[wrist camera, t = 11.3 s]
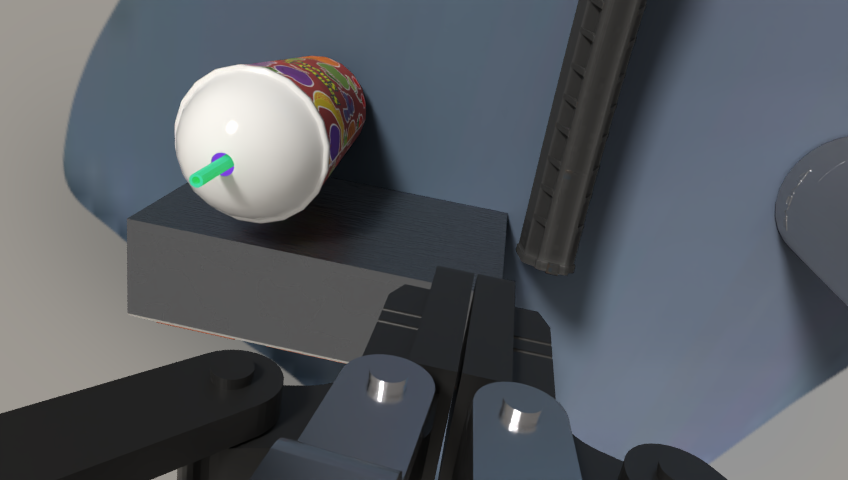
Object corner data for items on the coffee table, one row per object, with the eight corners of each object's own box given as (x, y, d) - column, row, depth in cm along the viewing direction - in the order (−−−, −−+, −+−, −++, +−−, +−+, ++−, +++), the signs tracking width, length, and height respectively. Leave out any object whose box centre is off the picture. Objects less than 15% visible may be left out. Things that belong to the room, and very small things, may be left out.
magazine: (556, 342, 42) (777, -245, 23) (505, 331, 42) (682, -260, 23) (562, 191, 55) (706, -259, 36) (523, 183, 55) (646, -269, 36)
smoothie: (385, 49, 46) (291, 95, 27) (377, 167, 49) (287, 281, 30) (267, 35, 46) (97, 71, 28) (266, 153, 50) (112, 255, 31)
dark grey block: (507, 213, 49) (501, 297, 36) (490, 290, 51) (478, 395, 38) (229, 157, 50) (127, 218, 37) (225, 234, 52) (127, 317, 39)
